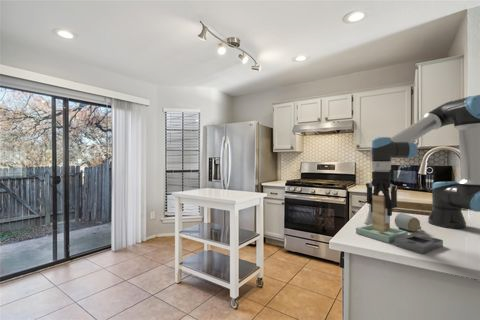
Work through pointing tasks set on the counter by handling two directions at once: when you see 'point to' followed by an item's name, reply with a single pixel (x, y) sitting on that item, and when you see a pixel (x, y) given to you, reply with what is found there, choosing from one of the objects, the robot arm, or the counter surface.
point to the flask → (369, 217)
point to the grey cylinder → (407, 222)
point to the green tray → (381, 233)
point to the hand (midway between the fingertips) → (381, 221)
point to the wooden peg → (379, 214)
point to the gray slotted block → (418, 243)
